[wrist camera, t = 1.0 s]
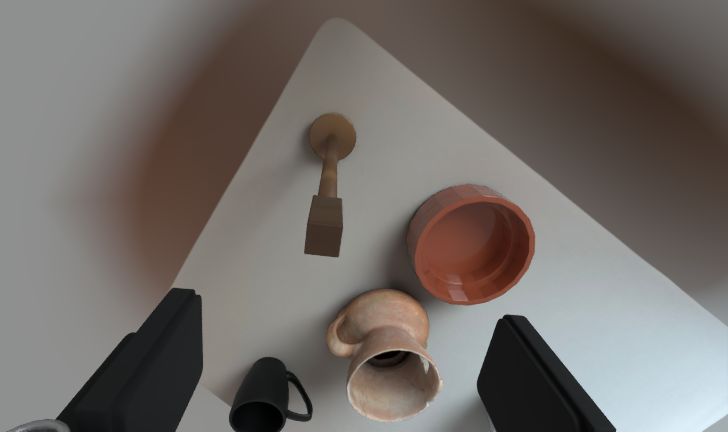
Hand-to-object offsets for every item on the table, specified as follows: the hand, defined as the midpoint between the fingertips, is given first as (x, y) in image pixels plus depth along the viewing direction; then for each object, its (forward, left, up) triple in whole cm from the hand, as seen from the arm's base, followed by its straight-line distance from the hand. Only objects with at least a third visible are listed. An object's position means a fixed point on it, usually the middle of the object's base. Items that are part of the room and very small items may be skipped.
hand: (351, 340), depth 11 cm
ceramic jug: (+27, +10, -38) cm, 48 cm away
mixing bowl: (+11, +20, -38) cm, 44 cm away
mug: (+40, -5, -38) cm, 56 cm away
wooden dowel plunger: (-1, -1, -38) cm, 38 cm away
